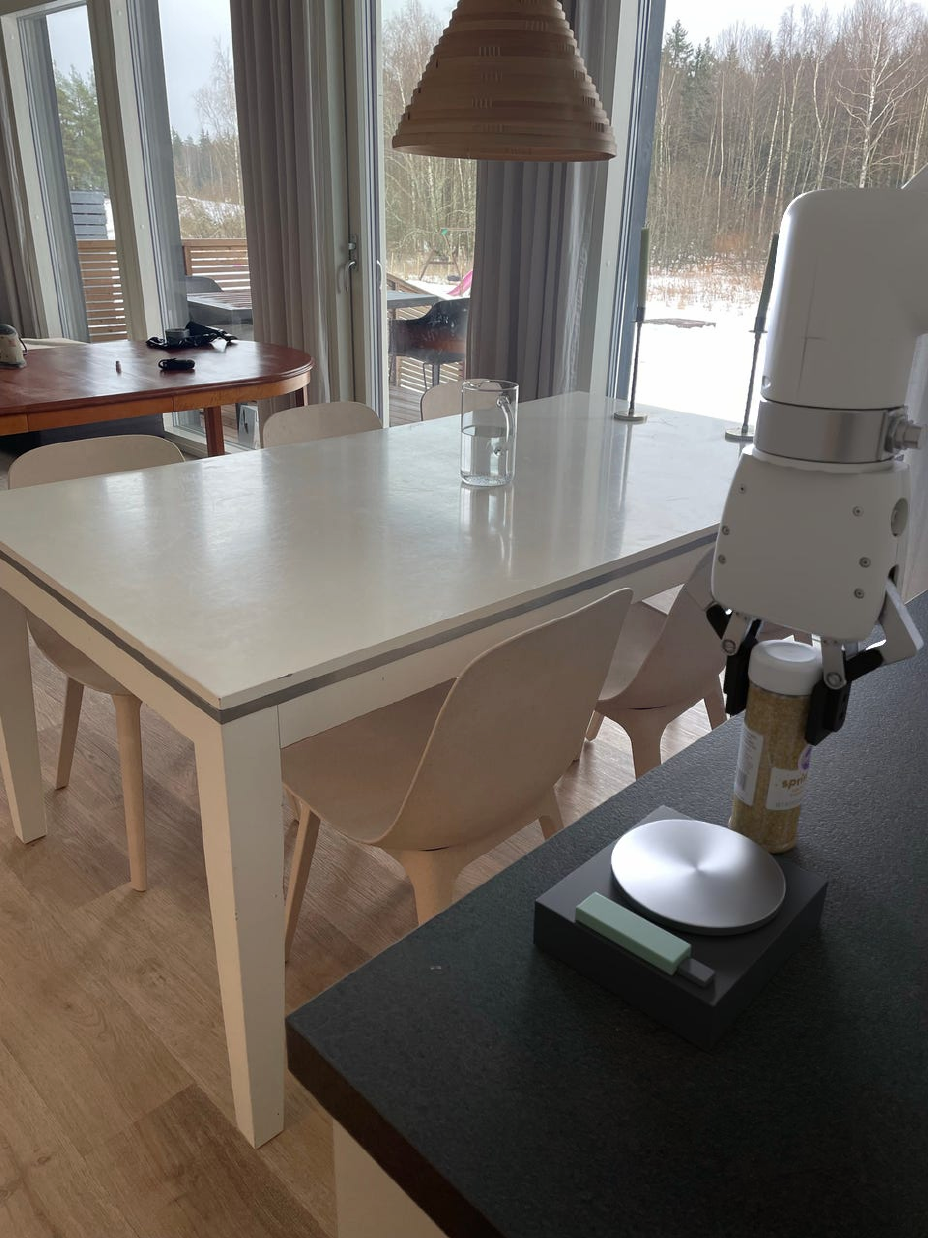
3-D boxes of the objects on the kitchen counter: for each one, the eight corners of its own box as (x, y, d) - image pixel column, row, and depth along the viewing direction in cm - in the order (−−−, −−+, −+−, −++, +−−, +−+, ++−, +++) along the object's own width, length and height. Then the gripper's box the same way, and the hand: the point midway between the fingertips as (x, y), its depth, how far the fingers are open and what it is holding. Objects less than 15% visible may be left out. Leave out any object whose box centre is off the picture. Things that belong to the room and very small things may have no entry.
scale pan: (667, 809, 59) (668, 801, 59) (813, 876, 53) (815, 867, 53) (576, 878, 52) (577, 870, 52) (731, 964, 46) (732, 954, 46)
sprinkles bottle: (795, 863, 59) (828, 672, 54) (721, 847, 61) (747, 659, 56) (798, 824, 63) (830, 643, 58) (730, 810, 65) (755, 632, 59)
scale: (658, 843, 61) (663, 793, 60) (820, 922, 54) (831, 868, 53) (532, 943, 52) (535, 888, 51) (707, 1053, 45) (715, 993, 44)
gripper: (1011, 445, 49) (940, 748, 56) (721, 406, 60) (691, 664, 66) (965, 468, 44) (893, 798, 51) (657, 420, 54) (632, 698, 61)
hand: (779, 719), depth 59 cm, fingers closed on sprinkles bottle, 4 cm apart
